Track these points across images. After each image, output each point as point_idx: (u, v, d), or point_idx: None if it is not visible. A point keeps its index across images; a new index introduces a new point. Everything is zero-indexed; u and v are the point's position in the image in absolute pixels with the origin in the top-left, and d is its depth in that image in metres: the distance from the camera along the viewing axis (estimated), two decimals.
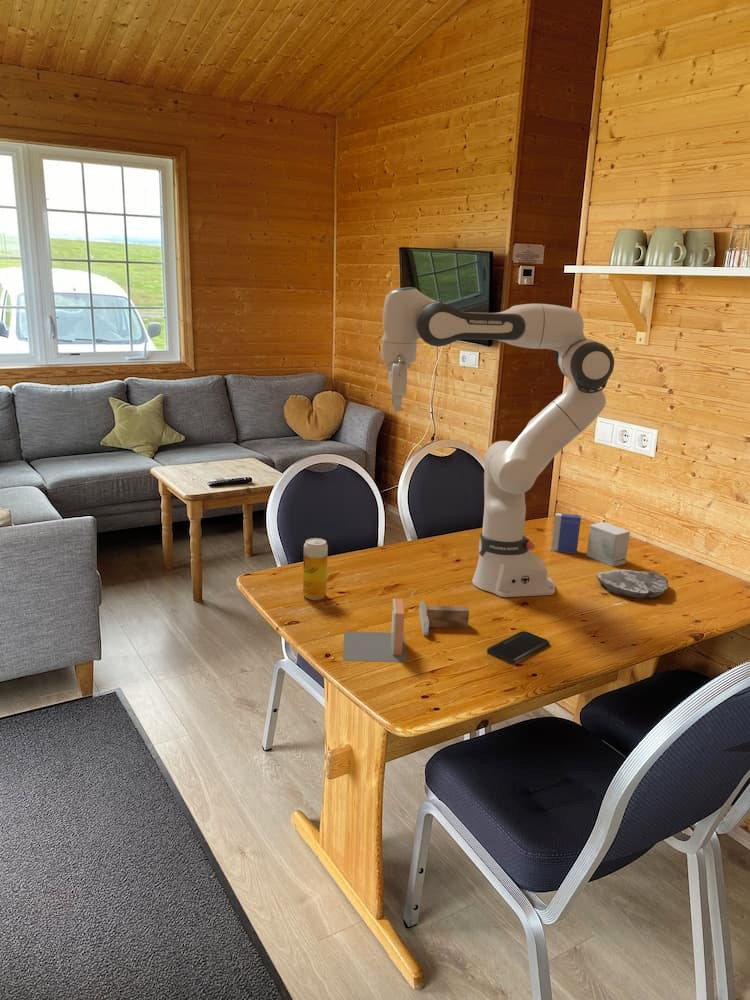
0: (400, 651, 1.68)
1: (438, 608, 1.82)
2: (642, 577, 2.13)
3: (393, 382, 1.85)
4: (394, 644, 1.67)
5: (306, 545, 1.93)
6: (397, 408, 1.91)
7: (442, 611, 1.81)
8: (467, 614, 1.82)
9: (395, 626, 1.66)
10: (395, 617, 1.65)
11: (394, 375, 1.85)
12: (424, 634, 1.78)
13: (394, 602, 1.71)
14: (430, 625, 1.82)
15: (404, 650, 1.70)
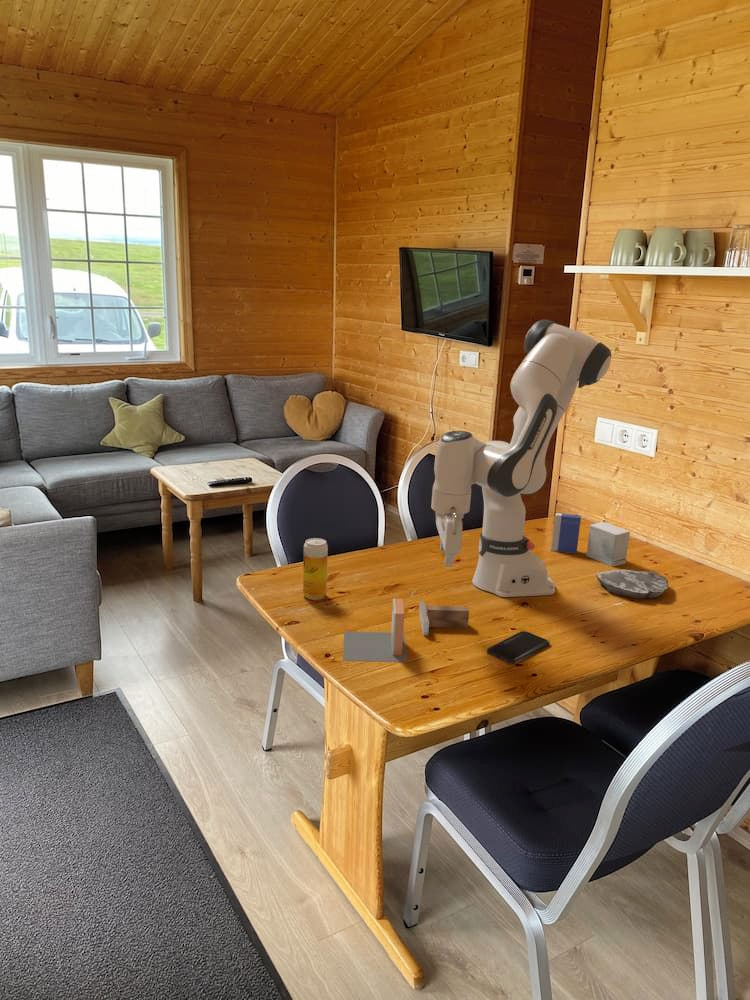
0: (400, 651, 1.68)
1: (438, 608, 1.82)
2: (642, 577, 2.13)
3: (447, 540, 1.67)
4: (394, 644, 1.67)
5: (306, 545, 1.93)
6: (449, 563, 1.74)
7: (442, 611, 1.81)
8: (467, 614, 1.82)
9: (395, 626, 1.66)
10: (395, 617, 1.65)
11: (448, 533, 1.67)
12: (424, 634, 1.78)
13: (394, 602, 1.71)
14: (430, 625, 1.82)
15: (404, 650, 1.70)
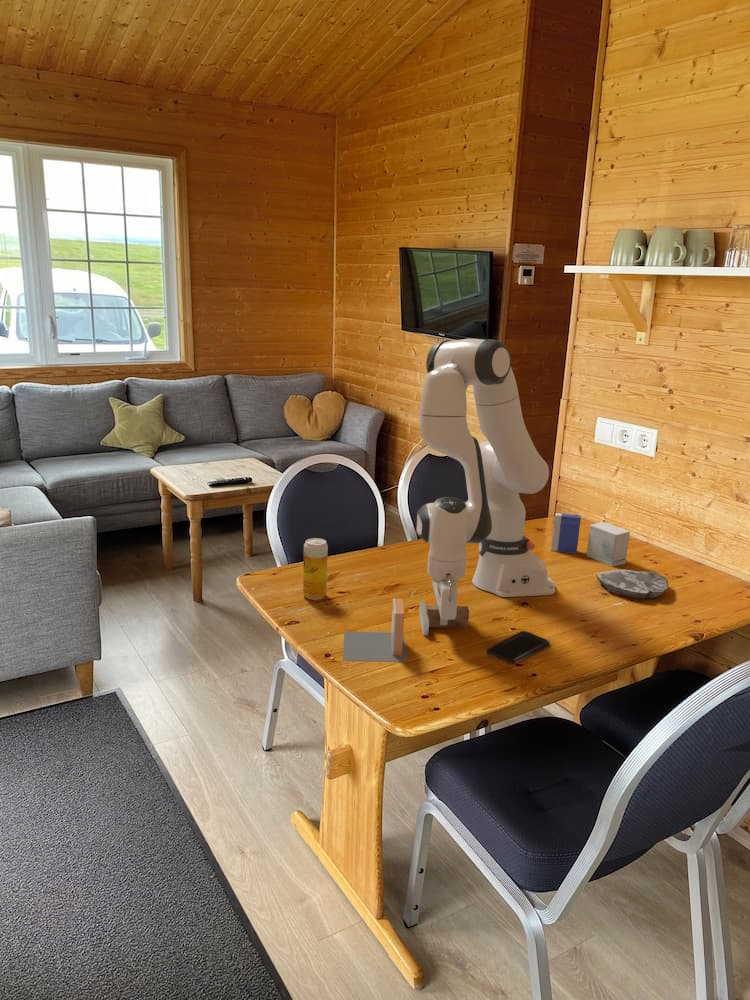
0: (400, 651, 1.68)
1: None
2: (642, 577, 2.13)
3: (442, 607, 1.72)
4: (394, 644, 1.67)
5: (306, 545, 1.93)
6: (444, 622, 1.81)
7: None
8: (467, 614, 1.82)
9: (395, 626, 1.66)
10: (395, 617, 1.65)
11: (443, 600, 1.71)
12: (424, 634, 1.78)
13: (394, 602, 1.71)
14: (430, 625, 1.82)
15: (404, 650, 1.70)
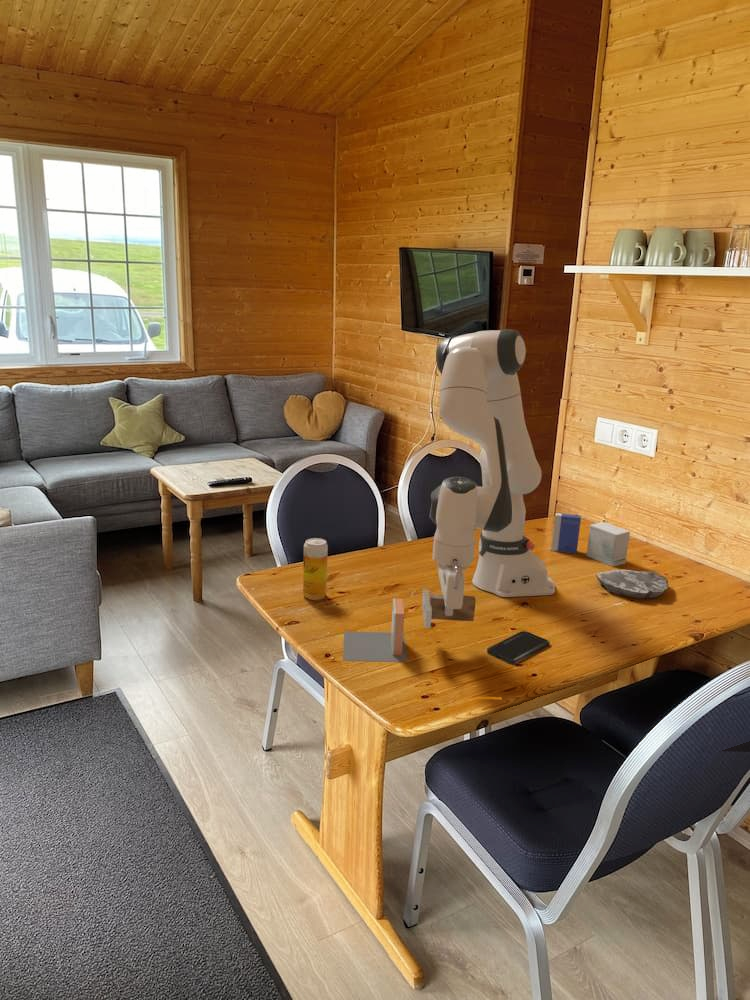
0: (400, 651, 1.68)
1: (442, 597, 1.69)
2: (642, 577, 2.13)
3: (447, 595, 1.58)
4: (394, 644, 1.67)
5: (306, 545, 1.93)
6: (449, 612, 1.67)
7: None
8: (473, 604, 1.68)
9: (395, 626, 1.66)
10: (395, 617, 1.65)
11: (449, 587, 1.58)
12: (426, 624, 1.64)
13: (394, 602, 1.71)
14: (433, 615, 1.69)
15: (404, 650, 1.70)
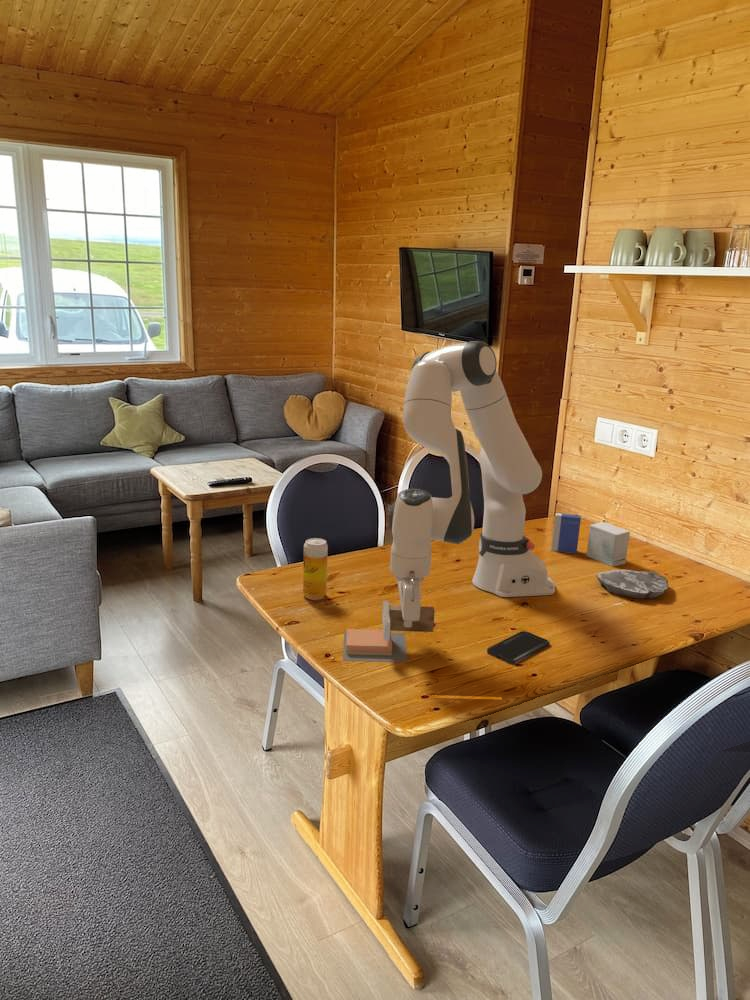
0: (387, 647, 1.67)
1: None
2: (642, 577, 2.13)
3: (404, 608, 1.58)
4: (379, 653, 1.68)
5: (306, 545, 1.93)
6: (408, 624, 1.67)
7: None
8: (432, 615, 1.68)
9: (360, 652, 1.68)
10: (350, 652, 1.68)
11: (406, 600, 1.58)
12: (385, 636, 1.64)
13: None
14: (393, 626, 1.69)
15: (404, 650, 1.70)
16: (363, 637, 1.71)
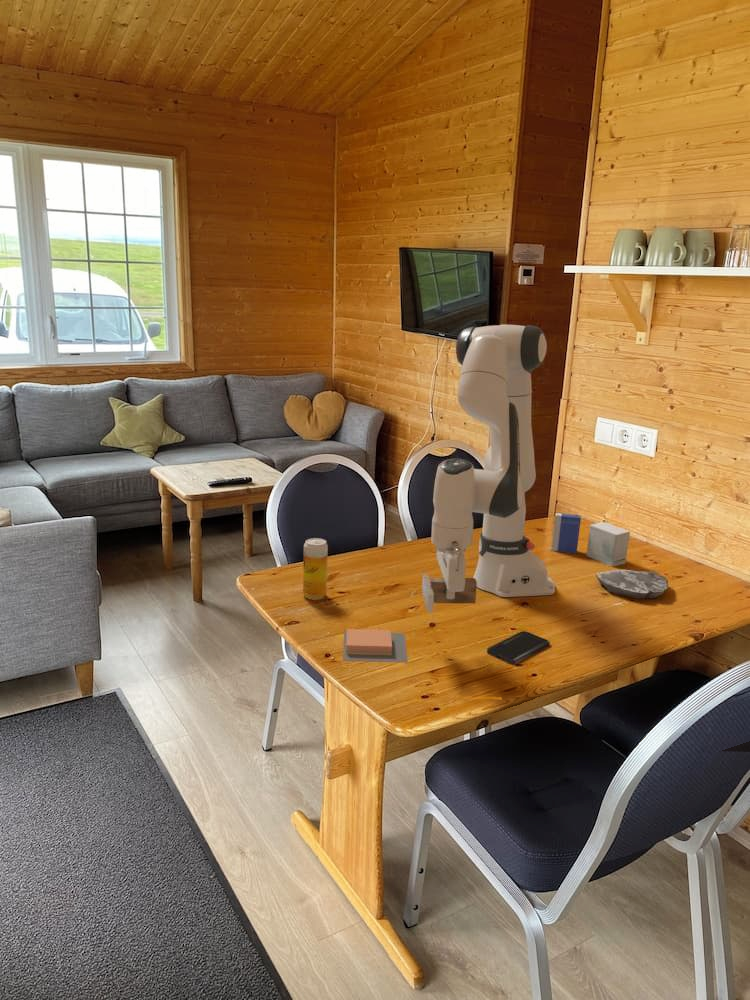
0: (387, 647, 1.67)
1: (443, 580, 1.67)
2: (642, 577, 2.13)
3: (449, 578, 1.57)
4: (379, 653, 1.68)
5: (306, 545, 1.93)
6: (450, 595, 1.66)
7: None
8: (475, 586, 1.67)
9: (360, 652, 1.68)
10: (350, 652, 1.68)
11: (450, 570, 1.56)
12: (429, 608, 1.63)
13: None
14: (435, 599, 1.67)
15: (404, 650, 1.70)
16: (363, 637, 1.71)
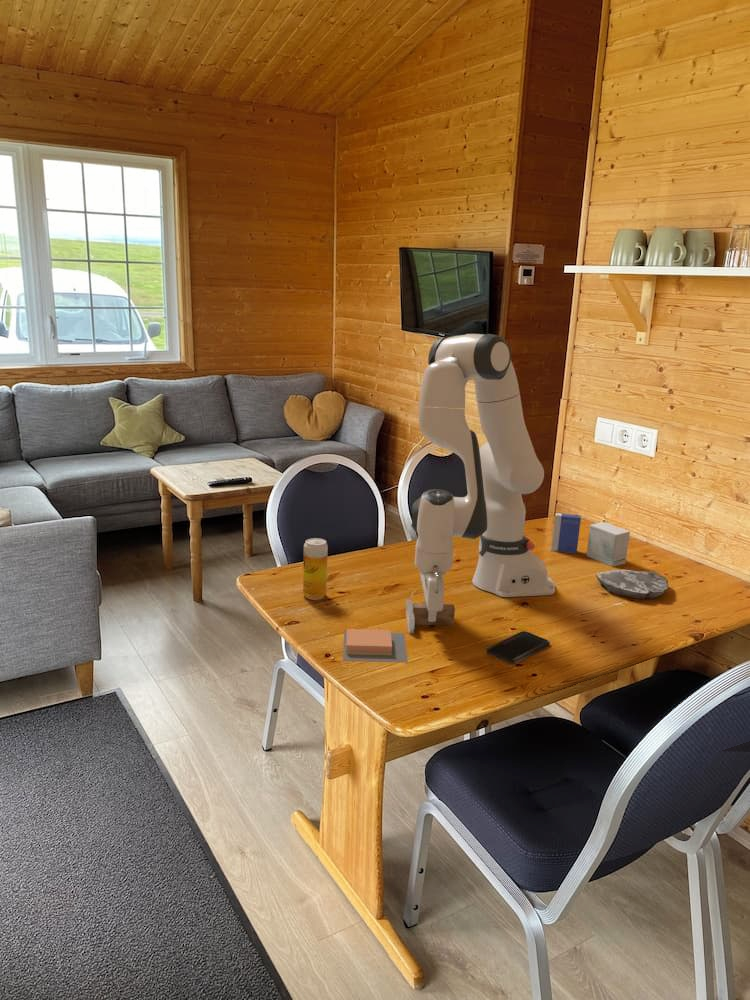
0: (387, 647, 1.67)
1: (424, 606, 1.83)
2: (642, 577, 2.13)
3: (429, 599, 1.72)
4: (379, 653, 1.68)
5: (306, 545, 1.93)
6: (432, 618, 1.79)
7: None
8: (453, 612, 1.83)
9: (360, 652, 1.68)
10: (350, 652, 1.68)
11: (430, 592, 1.72)
12: (410, 632, 1.79)
13: None
14: (416, 623, 1.83)
15: (404, 650, 1.70)
16: (363, 637, 1.71)
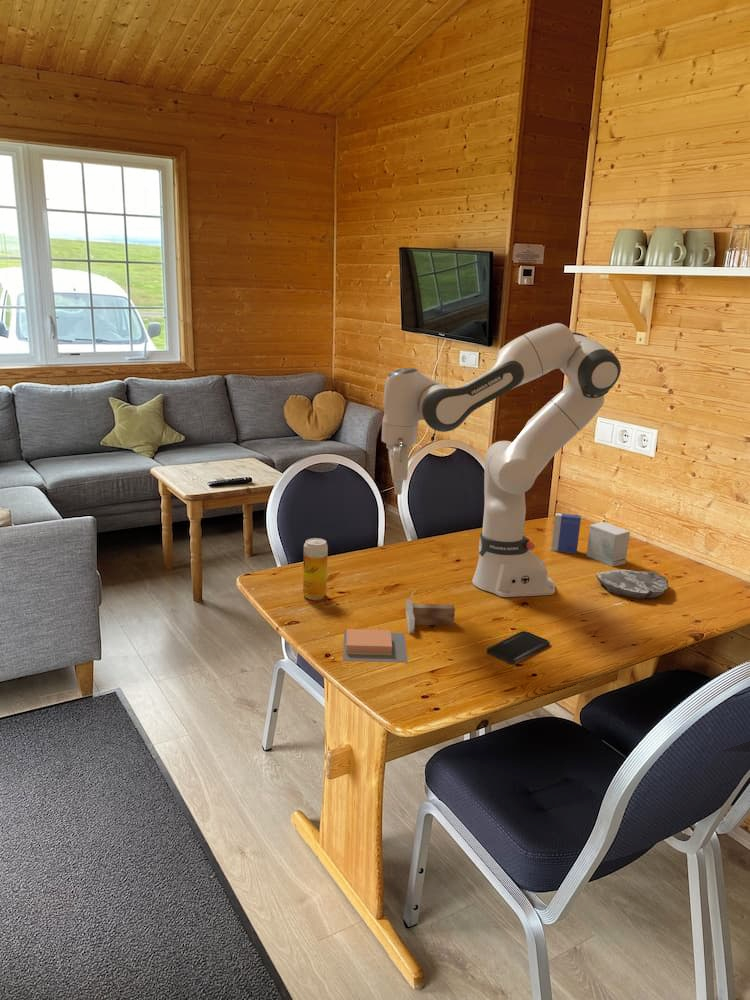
0: (387, 647, 1.67)
1: (424, 606, 1.83)
2: (642, 577, 2.13)
3: (394, 467, 1.81)
4: (379, 653, 1.68)
5: (306, 545, 1.93)
6: (398, 491, 1.87)
7: (428, 609, 1.82)
8: (453, 612, 1.83)
9: (360, 652, 1.68)
10: (350, 652, 1.68)
11: (395, 460, 1.81)
12: (410, 632, 1.79)
13: None
14: (416, 623, 1.83)
15: (404, 650, 1.70)
16: (363, 637, 1.71)
